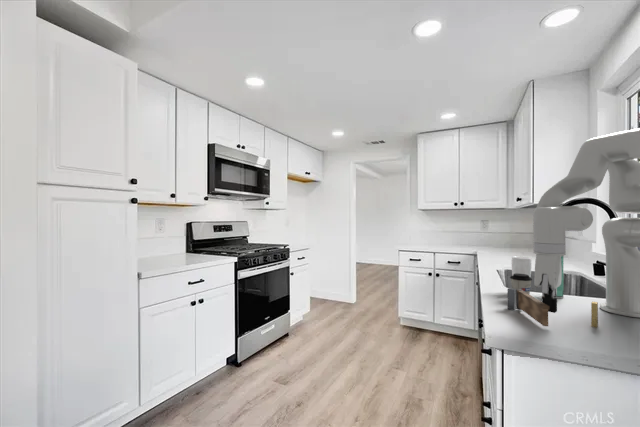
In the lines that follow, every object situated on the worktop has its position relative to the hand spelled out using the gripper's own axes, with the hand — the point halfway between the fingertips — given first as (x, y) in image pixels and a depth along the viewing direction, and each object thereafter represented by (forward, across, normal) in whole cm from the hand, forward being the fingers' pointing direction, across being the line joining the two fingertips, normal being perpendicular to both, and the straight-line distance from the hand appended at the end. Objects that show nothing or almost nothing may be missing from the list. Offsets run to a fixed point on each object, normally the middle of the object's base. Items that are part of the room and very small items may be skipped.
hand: (549, 310), depth 88 cm
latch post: (+5, -9, +9) cm, 14 cm away
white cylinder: (+5, -34, -16) cm, 38 cm away
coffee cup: (+5, -22, -13) cm, 26 cm away
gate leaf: (+4, -2, -5) cm, 7 cm away
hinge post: (+4, -9, -12) cm, 16 cm away
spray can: (+5, -39, -6) cm, 40 cm away
